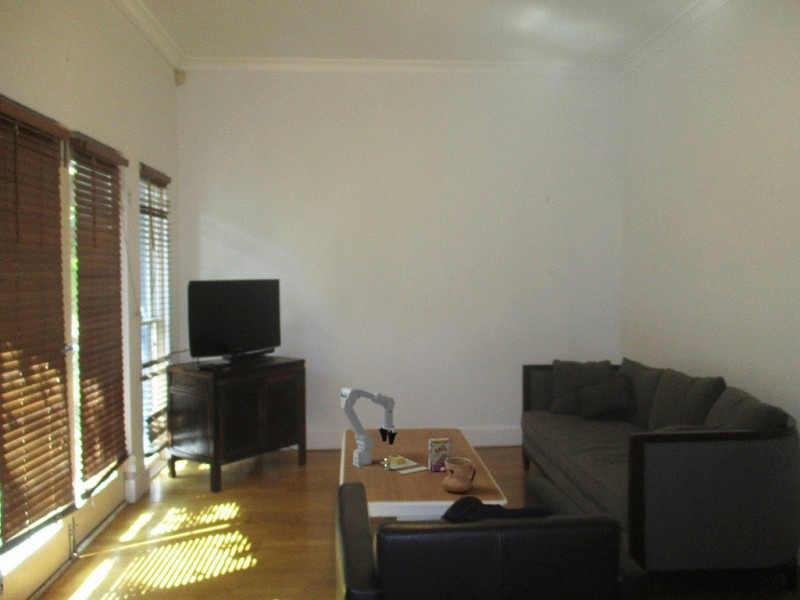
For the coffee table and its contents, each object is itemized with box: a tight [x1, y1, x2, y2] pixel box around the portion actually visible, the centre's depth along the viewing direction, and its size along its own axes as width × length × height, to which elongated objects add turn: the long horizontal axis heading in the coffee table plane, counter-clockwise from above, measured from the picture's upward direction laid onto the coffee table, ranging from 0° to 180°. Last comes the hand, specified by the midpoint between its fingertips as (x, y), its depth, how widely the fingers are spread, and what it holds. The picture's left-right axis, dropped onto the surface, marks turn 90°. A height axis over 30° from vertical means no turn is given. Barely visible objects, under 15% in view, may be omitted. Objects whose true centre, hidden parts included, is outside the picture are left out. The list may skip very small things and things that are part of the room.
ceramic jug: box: [440, 456, 477, 493], centre depth 322 cm, size 18×14×14 cm
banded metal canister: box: [383, 456, 391, 472], centre depth 351 cm, size 3×3×7 cm
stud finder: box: [388, 453, 406, 465], centre depth 364 cm, size 5×9×3 cm, turn 32°
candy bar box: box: [427, 437, 452, 473], centre depth 353 cm, size 11×5×16 cm, turn 102°
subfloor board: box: [378, 457, 429, 477], centre depth 359 cm, size 16×24×1 cm, turn 32°
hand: (387, 443), depth 372 cm, fingers open, 7 cm apart
